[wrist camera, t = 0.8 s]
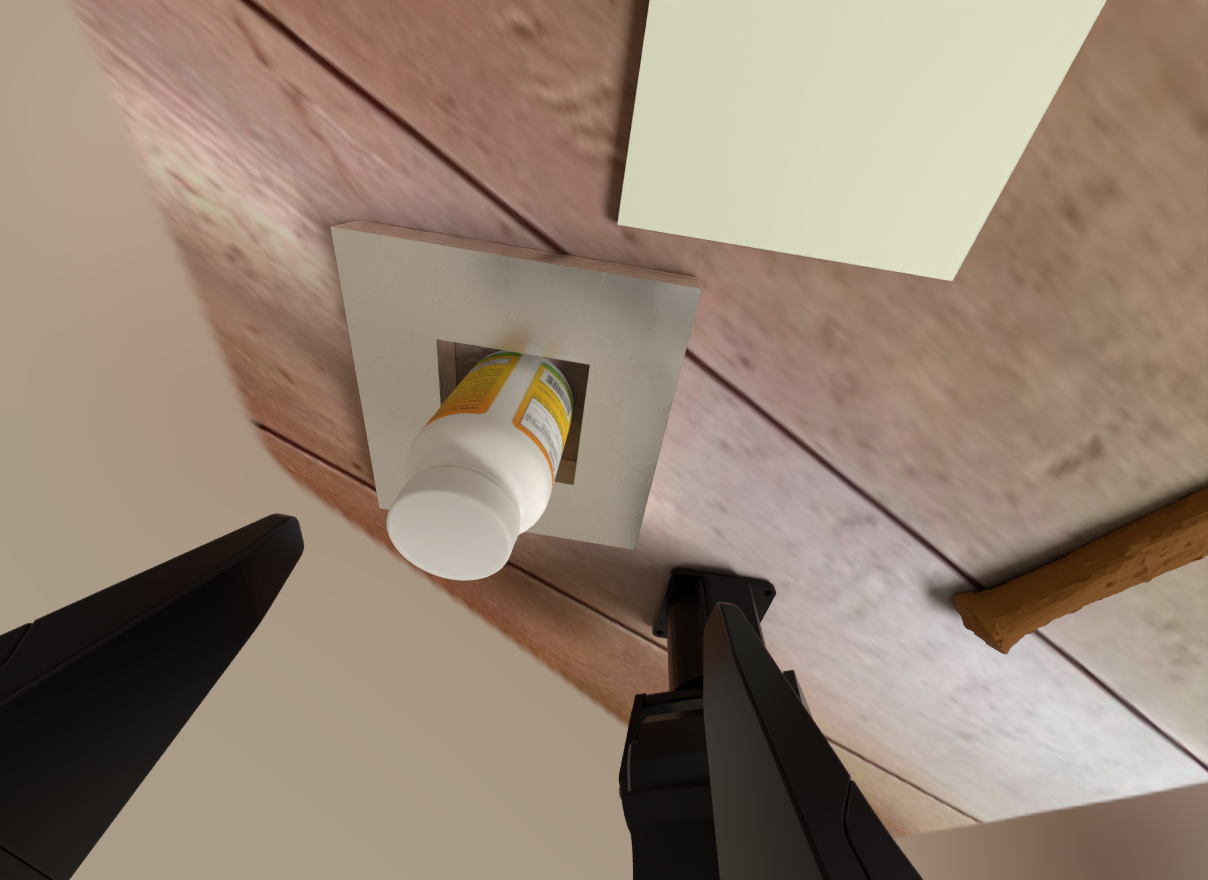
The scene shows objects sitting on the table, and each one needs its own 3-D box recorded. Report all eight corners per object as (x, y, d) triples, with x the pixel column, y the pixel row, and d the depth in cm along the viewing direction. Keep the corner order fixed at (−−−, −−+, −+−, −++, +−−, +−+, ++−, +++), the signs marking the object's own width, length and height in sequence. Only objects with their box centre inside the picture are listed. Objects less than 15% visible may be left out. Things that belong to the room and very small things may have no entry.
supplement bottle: (458, 421, 23) (355, 566, 15) (481, 328, 20) (370, 443, 12) (555, 457, 24) (508, 614, 16) (591, 372, 21) (555, 509, 13)
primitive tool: (1393, 385, 19) (1532, 428, 16) (1414, 461, 21) (1541, 513, 18) (935, 586, 27) (969, 639, 24) (976, 628, 29) (1013, 682, 26)
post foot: (635, 524, 26) (634, 549, 24) (397, 485, 26) (379, 507, 24) (696, 276, 18) (701, 288, 17) (359, 219, 18) (330, 226, 17)
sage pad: (943, 277, 18) (952, 281, 17) (618, 222, 18) (617, 224, 17) (1245, -285, 11) (1275, -307, 10) (705, -380, 11) (708, -407, 10)
